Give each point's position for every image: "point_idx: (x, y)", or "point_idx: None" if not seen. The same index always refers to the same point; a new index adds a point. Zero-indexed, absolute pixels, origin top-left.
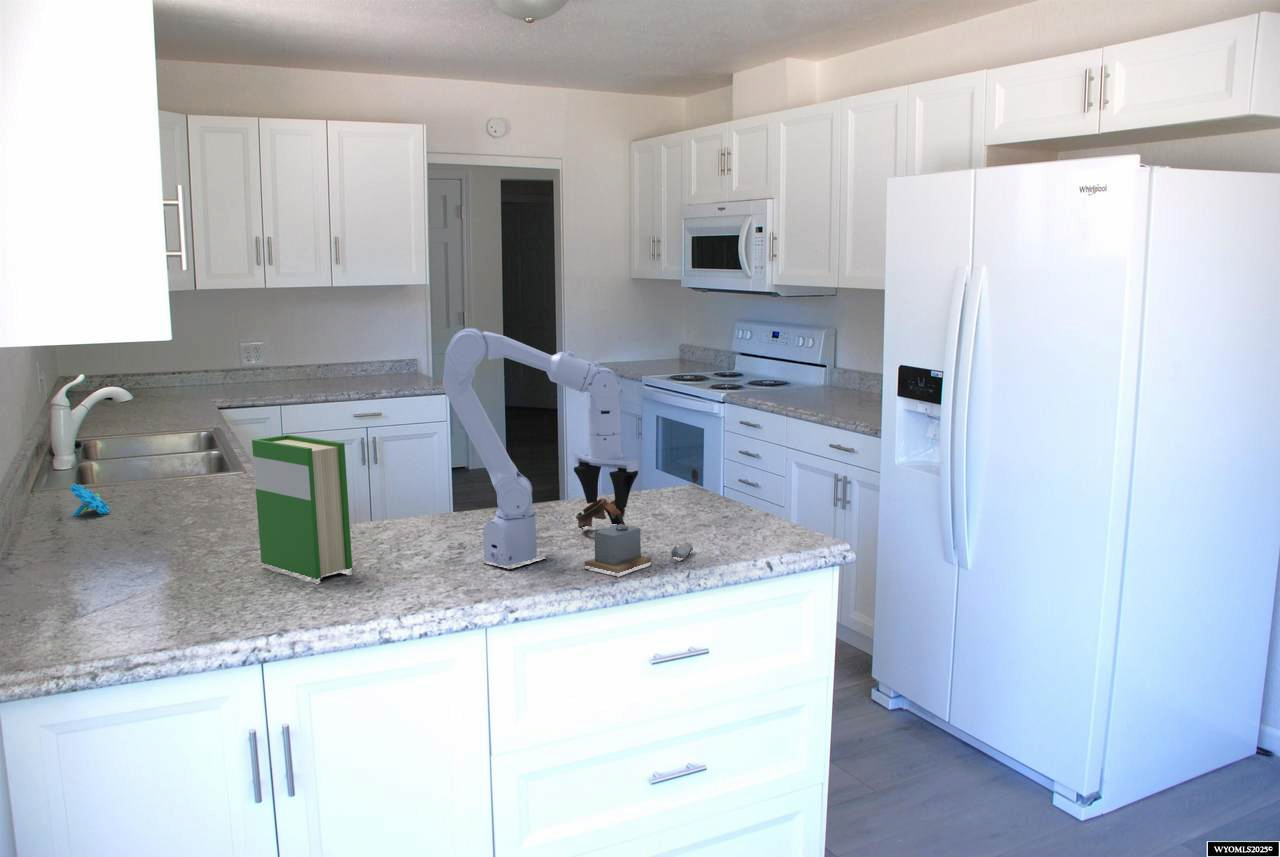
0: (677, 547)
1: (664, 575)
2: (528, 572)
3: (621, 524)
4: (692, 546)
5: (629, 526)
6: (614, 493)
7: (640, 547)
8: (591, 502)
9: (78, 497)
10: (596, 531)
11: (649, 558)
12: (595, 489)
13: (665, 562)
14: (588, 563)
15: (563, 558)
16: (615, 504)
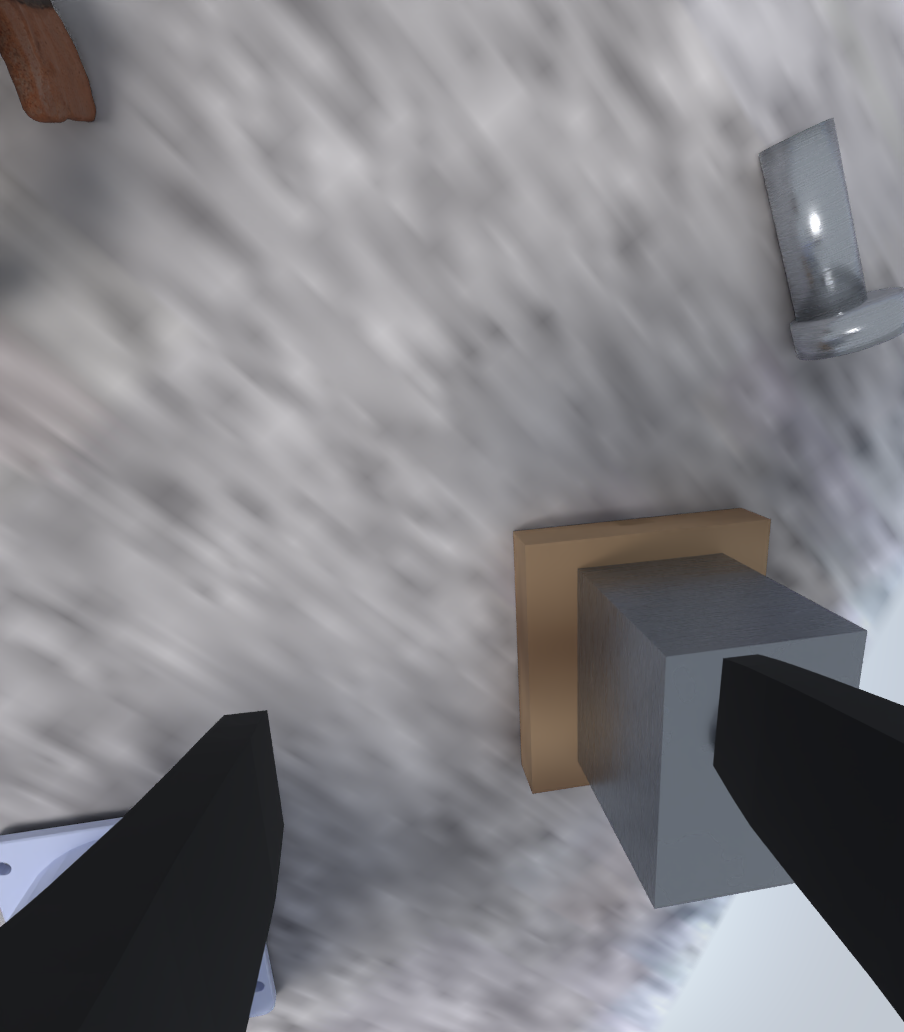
0: (879, 340)
1: (875, 570)
2: (352, 947)
3: (678, 658)
4: (833, 119)
5: (770, 655)
6: (867, 972)
7: (761, 575)
8: (276, 796)
9: None
10: (659, 893)
11: (769, 531)
12: (219, 859)
13: (763, 405)
14: (558, 785)
15: (276, 726)
16: (749, 817)
